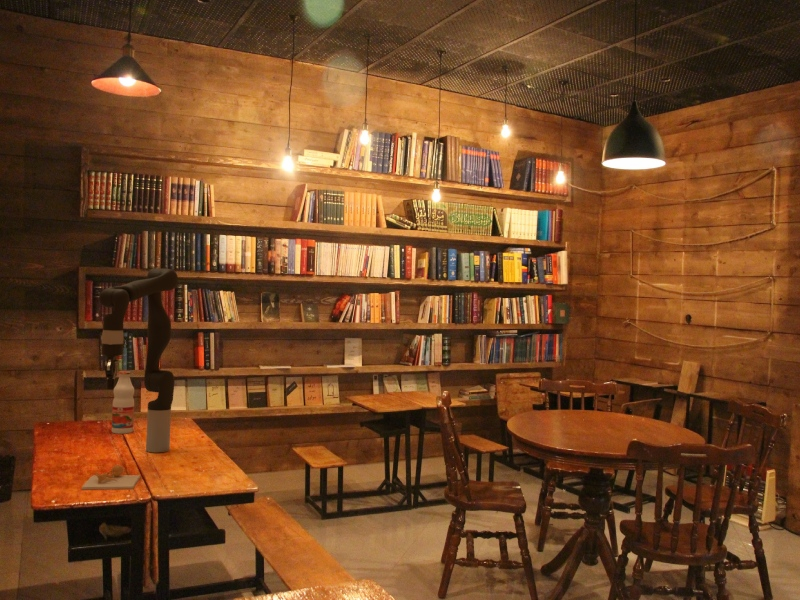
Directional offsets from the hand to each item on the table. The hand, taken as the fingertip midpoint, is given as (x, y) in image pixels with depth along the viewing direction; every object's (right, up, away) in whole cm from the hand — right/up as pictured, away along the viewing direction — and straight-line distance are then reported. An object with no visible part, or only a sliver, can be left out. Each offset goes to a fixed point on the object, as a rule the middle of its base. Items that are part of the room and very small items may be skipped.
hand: (110, 388), depth 265 cm
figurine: (+10, -25, -15) cm, 30 cm away
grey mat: (+9, -29, -22) cm, 38 cm away
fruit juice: (-21, -28, +65) cm, 74 cm away
